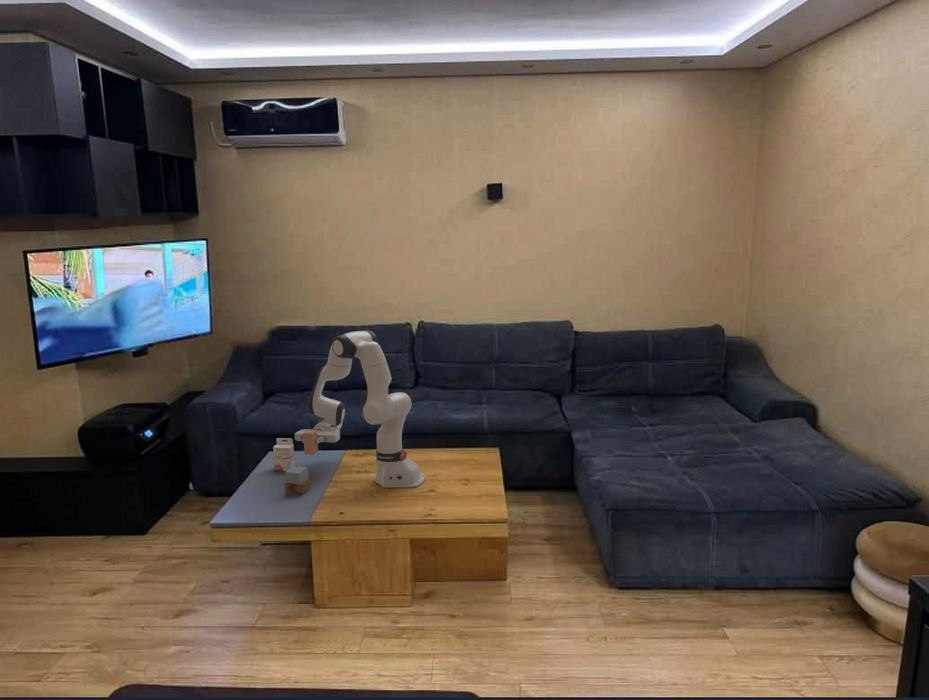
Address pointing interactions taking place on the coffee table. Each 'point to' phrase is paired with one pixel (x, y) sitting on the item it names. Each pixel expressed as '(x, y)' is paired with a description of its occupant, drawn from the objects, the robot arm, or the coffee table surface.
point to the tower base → (298, 487)
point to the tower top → (296, 475)
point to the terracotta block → (310, 442)
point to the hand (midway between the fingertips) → (309, 441)
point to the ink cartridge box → (283, 454)
